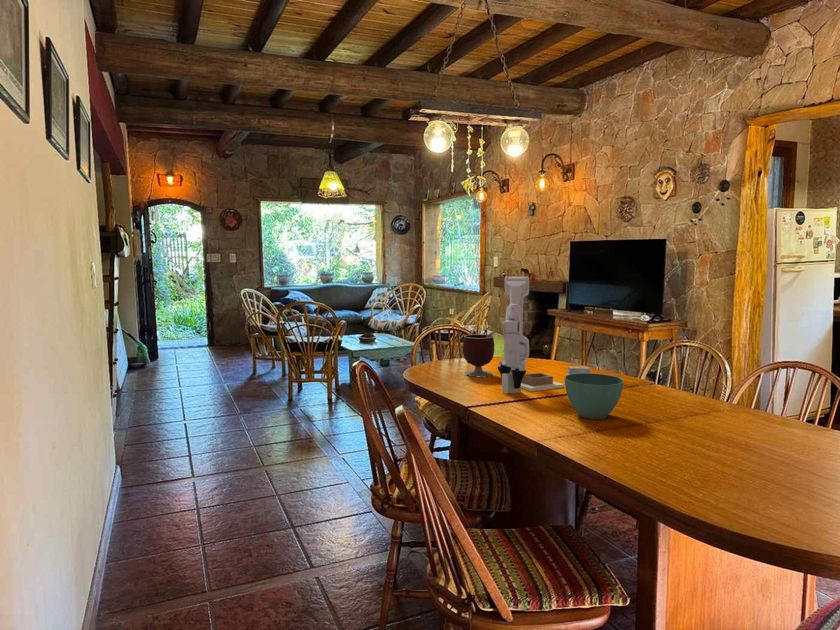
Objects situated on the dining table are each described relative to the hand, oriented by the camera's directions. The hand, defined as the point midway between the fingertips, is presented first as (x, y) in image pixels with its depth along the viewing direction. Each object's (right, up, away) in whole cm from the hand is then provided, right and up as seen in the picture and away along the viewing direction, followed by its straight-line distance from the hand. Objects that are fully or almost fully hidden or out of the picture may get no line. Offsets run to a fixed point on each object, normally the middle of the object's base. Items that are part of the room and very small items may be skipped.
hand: (511, 386), depth 219 cm
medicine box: (+27, -2, +4) cm, 27 cm away
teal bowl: (+21, -6, -34) cm, 40 cm away
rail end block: (0, -2, 0) cm, 2 cm away
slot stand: (+12, -1, +10) cm, 16 cm away
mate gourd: (-8, +1, +34) cm, 35 cm away
